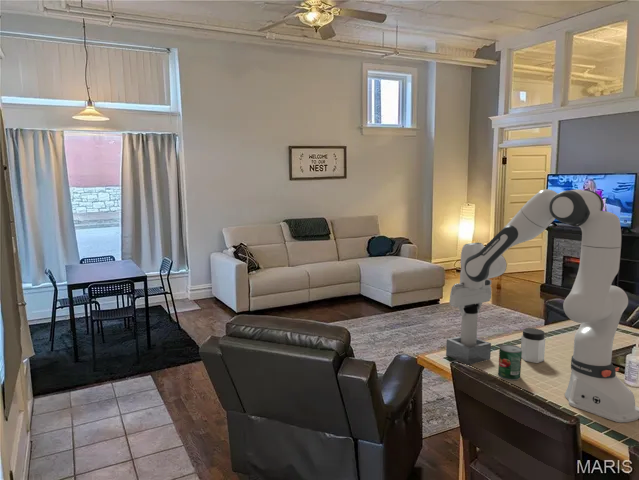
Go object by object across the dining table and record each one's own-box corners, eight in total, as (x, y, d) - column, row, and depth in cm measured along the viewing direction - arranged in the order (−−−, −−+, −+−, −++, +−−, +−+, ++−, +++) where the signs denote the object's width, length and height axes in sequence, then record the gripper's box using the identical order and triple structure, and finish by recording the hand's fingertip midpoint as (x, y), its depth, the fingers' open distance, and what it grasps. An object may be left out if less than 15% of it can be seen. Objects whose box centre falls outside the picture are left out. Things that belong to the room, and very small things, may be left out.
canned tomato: (493, 375, 178) (495, 347, 177) (505, 369, 183) (506, 342, 182) (513, 382, 172) (514, 353, 171) (524, 376, 177) (526, 348, 175)
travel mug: (477, 353, 192) (479, 306, 189) (461, 352, 193) (462, 305, 190) (475, 348, 198) (477, 302, 195) (459, 347, 199) (461, 301, 197)
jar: (517, 355, 198) (518, 327, 197) (536, 354, 198) (537, 327, 197) (527, 363, 189) (529, 334, 188) (547, 363, 190) (549, 334, 188)
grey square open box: (490, 359, 193) (491, 343, 192) (468, 365, 188) (468, 348, 187) (467, 349, 204) (468, 334, 203) (446, 354, 199) (446, 339, 198)
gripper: (457, 285, 184) (456, 319, 186) (494, 280, 193) (493, 312, 195) (446, 282, 190) (445, 315, 191) (482, 277, 199) (481, 309, 201)
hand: (469, 314), depth 193 cm, fingers closed on travel mug, 6 cm apart
